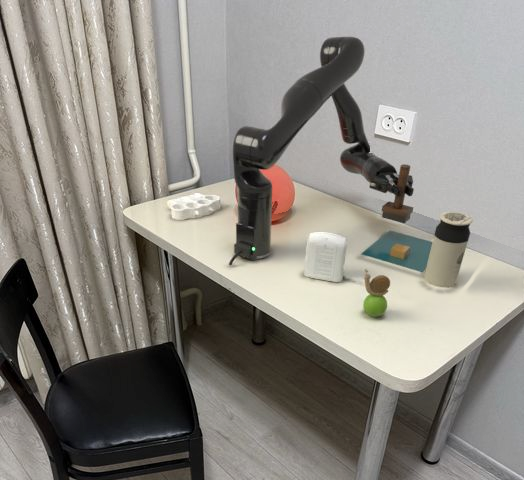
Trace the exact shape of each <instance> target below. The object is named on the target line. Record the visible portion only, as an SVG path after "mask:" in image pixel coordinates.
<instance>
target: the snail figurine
mask: <svg viewBox="0 0 524 480" xmlns="http://www.w3.org/2000/svg"><path fill="white" fill-rule="evenodd" d="M364 272H365V273H364V275H363V279H364V288H365V291H366V293H368V295H367V296H366V297H365V298H364V300H363V304H362V306H363V310H364V312H365V313H366V314H367V315H368V316H370V317H379V316H381V315H383V314H385V312H386V310H387V309H388V300H387V298H386V297H385V295H386V294H387V293H389V290H388V289H390V286H391V280H390V278H389V277H388V276H387V275H383V274H379V275H376V276H375V277H373V278H371V274H370V273H369V269H367V268H364ZM370 279H371V280H370Z"/></svg>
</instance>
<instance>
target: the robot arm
mask: <svg viewBox="0 0 524 480" xmlns="http://www.w3.org/2000/svg"><path fill="white" fill-rule="evenodd" d="M319 51H320V52H319V61H320V67H318V68H316V69H314V70H311V71H309V72H307V73H305V74H304V75H302V76H301V77H299V78H298V79H297V80H296V81H295V82H293V84H292V85H291V86H290V87H289V88H288V90H286V92H285V93H284V95H283V97H282V100H281V104H280V118H279V120H278V121H277V122H276V123H275V124H274V125H273V126H272V127H271V128H269V129H265V128H260V127H255V126H250V125H244V126H241V127H240V128H239V129H237V131H236V133H235V136H234V138H233V144H232V162H233V177H234V178H233V179H234V183H235V186H236V189H237V191H236V192H237V222H236V223H235V241H236V243H234V244H233V245H234V246H233V253H234V255H233V257H232V258H230V260H229V262H228V265H229V266H232V265H233V263H234V261H235V260H236V258H237V257H242V258H245V259H248V260H250V261H253V262H254V261H255V260H256V261H257V260H261V259H265V258H268V257H269V256H270V255H271V254H272V217H273V216H272V213H273V183H272V181H271V179H269V178H268V177H267V176H266V175H265V174H264V173H263V172H262V171H263V170H265V171H266V170H269V169H271V168H273V167H274V166H275V165H276V164H277V163H278V162H279V160H280V159H281V158H282V156H283V154H284V153H285V152H286V151H287V149H288V148H289V146H290V144H291V143H292V142H293V140H294V139H295V138H296V137H297V135H298V134H299V133H300V131H301V130H303V128H304V127H305V126H306V125H307V124H308V122H309V121H310V120H311V119H312V118H313V117H314V116H315V115H316V114H317V113H318V111H319V110H320V109H321V108H322V107H323V105H324V104H325V103H326V102H327V101H328V100H329V99H330V98H332V101H333V104H334V108H335V110H336V113H337V118H338V123H339V128H340V129H339V130H340V133H341V139H342V141H343V143H345V144H348V145H352V144H354V145H352V146H350V147H347V148H345V149H344V150H343V151H342V152H341V153H340V156H339V162H340V165H341V166H342V168H343V169H344V170H345V171H346V172H348V173H351V174H356V175H361V176H362V177H363V178H364V179H365V180H366V181H367V182H368V183H369V189H371V190H374V191H378V192H380V193H382V194H387V193H389V194H392V195H394V196H395V195H396V196H398V197H401V196H402V192H403V190H402V189H401V188H400V187H399V186H397V183H398V178H399V173H398V172H397V170H396V168H395V166H394V165H392V164H391V163H389V162H388V161H386V160H384V159H383V158H381V157H379V156H378V155H376V154H374V152H373V153H369V152H370V146H371V144H370V142H369V140H368V138H367V135H366V133H365V127H364V121H363V115H362V111H361V108H360V106H359V104H358V103H357V101H356V100H355V98H354V97H353V95H352V94H351V92H350V91H349V89H348V88H347V86H346V84H345V83H346V82H347V81H348V80H350V79H351V78H352V77H353V76H354V75H355V74H356V73H357V72H359V70H360V68H361V67H362V64H363V61H364V58H365V51H366V50H365V45H364V43H363V41H362V40H361V39H360V38H358V37H356V36H332V37H328V38H326V39H325V40H323V42H322V44H321V47H320V50H319ZM368 142H369V143H368ZM369 144H370V145H369ZM261 170H262V171H261ZM264 175H265V176H266V177H265V176H264ZM413 184H414V180H413V175H410V174H409V177H408V182H407V187H406V192H405V195H406V196H408V197H412V196H413V194H414V190H415V189H414V188H413Z"/></svg>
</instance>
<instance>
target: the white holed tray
mask: <svg viewBox="0 0 524 480" xmlns="http://www.w3.org/2000/svg"><path fill="white" fill-rule="evenodd" d="M166 205H167V207H168V208H169V209H170V213H171V217H172V219H173V220H176V221H184V220H188V219H198V218H201V217H203V216H210V215H211V214H213V212H216V211H220V209H221V208H222V207H221V206H222V204H221V197H220V196H219V195H215V194H206V195H205V194H202V193H199V192H195V193H193V194H190V195H183V196H181V197H178V198H174V199H173V198H172V199H169V200H167V202H166Z"/></svg>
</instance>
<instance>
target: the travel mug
mask: <svg viewBox="0 0 524 480" xmlns="http://www.w3.org/2000/svg"><path fill="white" fill-rule="evenodd" d="M439 219H440V220H439V223H438V224H437V225H436V226H435V231H434V235H433V238H432V241H431V242H432V246H431V251H430V255H429V259H428V263H427V267H426V269H425V270H424V275H423V279H424V281H425V282H426V283H427V284H429V285H430V286H434V287H438V288H450V287H451V288H452V287H454V286H455V285H456V284H457V280H458V276H459V274H460V270H461V266H462V263H463V259H464V256H465V252H466V249H467V245H468V242H469V238H470V235H471V229H470V226H471V224H472V223H473V218H472V217H471V216H470V215H468V214H467V213H463V212H459V211H444V212H442V213H441V214H439Z"/></svg>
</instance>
